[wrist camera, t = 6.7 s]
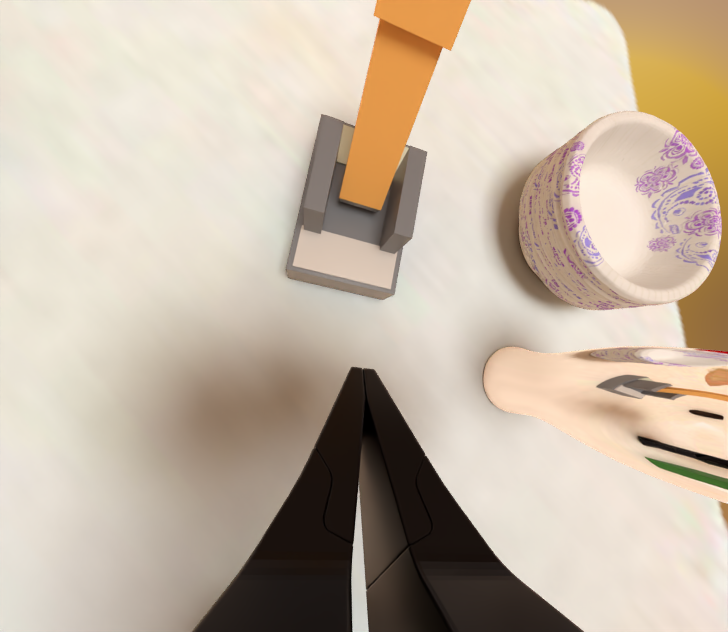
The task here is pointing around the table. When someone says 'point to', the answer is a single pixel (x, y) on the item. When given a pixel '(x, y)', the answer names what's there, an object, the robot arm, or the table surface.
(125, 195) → the table surface
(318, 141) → the breaker block
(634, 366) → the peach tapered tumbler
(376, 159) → the breaker lever
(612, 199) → the paper bowls
